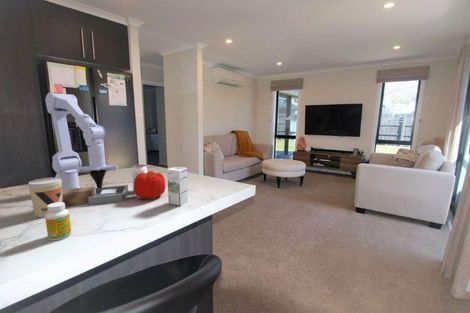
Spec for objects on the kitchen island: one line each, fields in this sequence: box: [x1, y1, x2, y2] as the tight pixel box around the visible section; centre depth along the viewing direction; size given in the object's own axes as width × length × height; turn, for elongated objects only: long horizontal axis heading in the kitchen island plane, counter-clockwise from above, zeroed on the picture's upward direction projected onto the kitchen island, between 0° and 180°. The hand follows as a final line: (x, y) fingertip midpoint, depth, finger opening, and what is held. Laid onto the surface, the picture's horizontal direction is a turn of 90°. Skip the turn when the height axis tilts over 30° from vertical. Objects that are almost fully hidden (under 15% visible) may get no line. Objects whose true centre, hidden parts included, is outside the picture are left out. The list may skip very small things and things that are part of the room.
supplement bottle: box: [44, 202, 72, 241], centre depth 67 cm, size 5×5×10 cm
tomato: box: [133, 170, 166, 200], centre depth 100 cm, size 14×13×10 cm
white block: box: [100, 189, 117, 196], centre depth 99 cm, size 6×6×2 cm
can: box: [131, 164, 148, 192], centre depth 108 cm, size 6×6×12 cm
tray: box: [88, 184, 129, 206], centre depth 100 cm, size 13×14×3 cm
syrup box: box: [166, 166, 189, 207], centre depth 92 cm, size 6×6×14 cm
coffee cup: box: [27, 176, 62, 218], centre depth 83 cm, size 9×9×12 cm
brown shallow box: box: [62, 186, 96, 207], centre depth 95 cm, size 13×10×4 cm
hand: (99, 187), depth 98 cm, fingers closed
